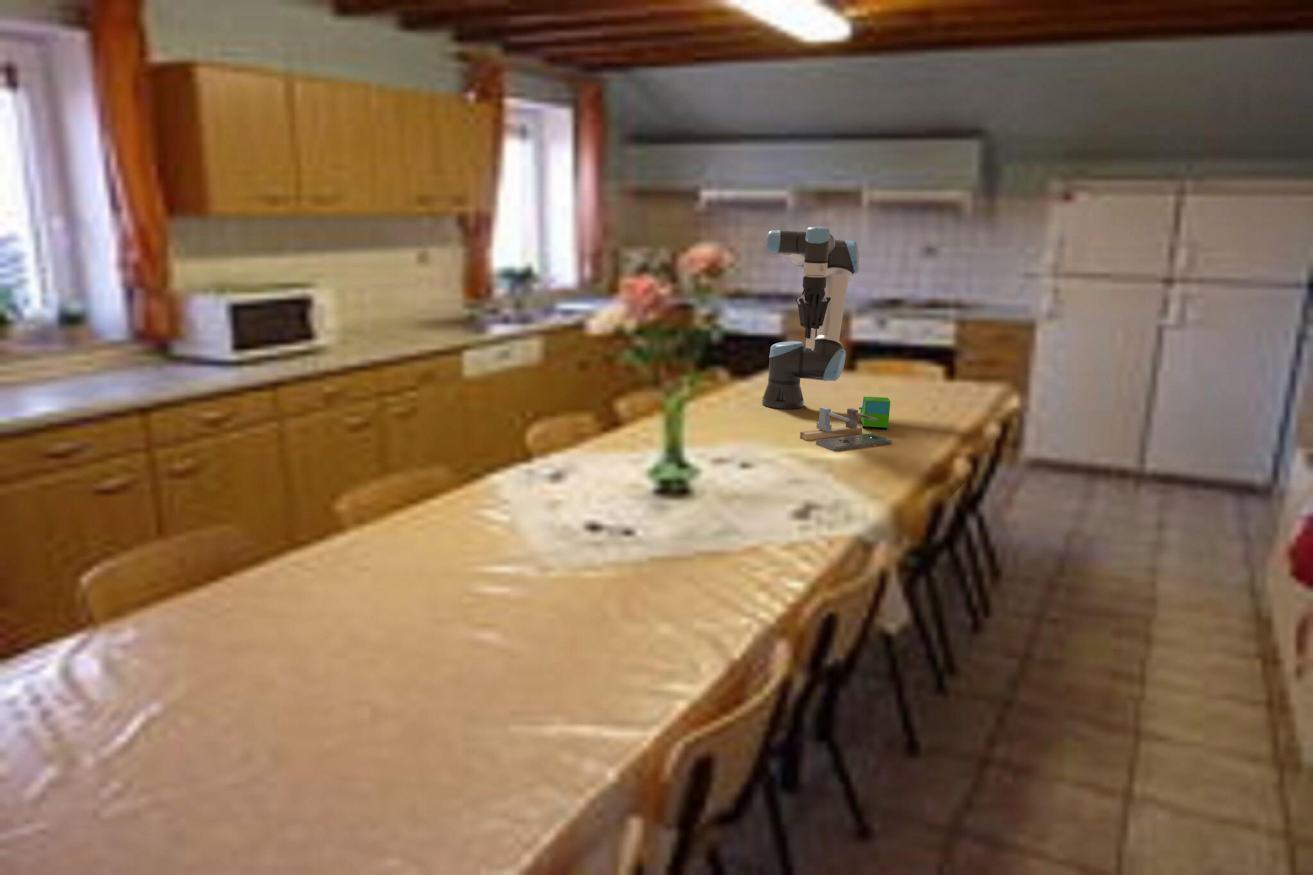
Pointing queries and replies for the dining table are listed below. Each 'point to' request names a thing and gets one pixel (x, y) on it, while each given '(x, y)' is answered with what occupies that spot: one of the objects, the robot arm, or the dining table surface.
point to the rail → (841, 431)
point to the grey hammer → (827, 419)
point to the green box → (875, 411)
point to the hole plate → (853, 442)
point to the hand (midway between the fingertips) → (809, 348)
